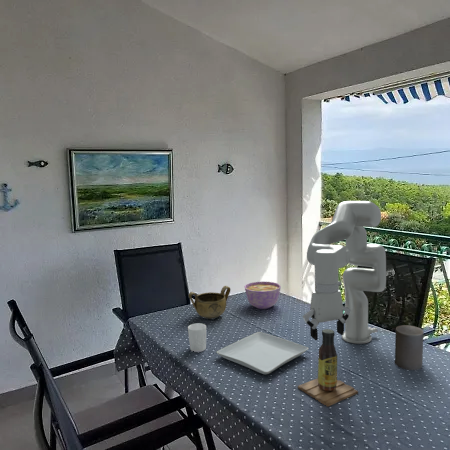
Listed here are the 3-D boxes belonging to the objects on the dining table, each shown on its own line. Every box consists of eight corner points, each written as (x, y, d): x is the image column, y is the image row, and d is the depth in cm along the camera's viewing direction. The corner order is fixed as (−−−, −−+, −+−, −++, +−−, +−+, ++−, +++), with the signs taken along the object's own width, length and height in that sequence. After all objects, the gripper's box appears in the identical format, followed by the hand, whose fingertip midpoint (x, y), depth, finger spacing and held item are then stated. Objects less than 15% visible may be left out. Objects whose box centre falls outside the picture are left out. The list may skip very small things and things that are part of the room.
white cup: (210, 346, 180) (209, 324, 179) (202, 354, 173) (200, 331, 172) (194, 344, 184) (193, 322, 182) (185, 351, 177) (184, 328, 175)
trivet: (327, 376, 151) (327, 373, 150) (357, 393, 139) (357, 390, 139) (297, 388, 143) (297, 385, 143) (327, 406, 132) (327, 403, 131)
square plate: (259, 338, 188) (258, 330, 187) (310, 356, 168) (310, 347, 168) (215, 359, 169) (215, 350, 168) (267, 381, 150) (266, 371, 149)
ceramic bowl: (224, 308, 229) (223, 282, 227) (237, 318, 214) (236, 289, 212) (185, 315, 220) (184, 288, 218) (196, 326, 205) (195, 296, 203)
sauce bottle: (326, 394, 137) (325, 336, 134) (314, 385, 142) (313, 330, 140) (341, 388, 140) (341, 332, 137) (328, 380, 145) (328, 326, 143)
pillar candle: (389, 361, 160) (389, 324, 158) (407, 356, 164) (408, 320, 161) (409, 373, 151) (410, 333, 149) (428, 367, 155) (430, 328, 153)
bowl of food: (288, 305, 230) (288, 285, 229) (266, 315, 216) (265, 293, 215) (260, 298, 244) (259, 279, 243) (237, 307, 230) (236, 287, 228)
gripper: (343, 280, 142) (344, 327, 145) (297, 287, 138) (298, 336, 140) (356, 286, 135) (356, 336, 138) (308, 294, 131) (309, 345, 133)
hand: (327, 336), depth 139 cm, fingers open, 9 cm apart
